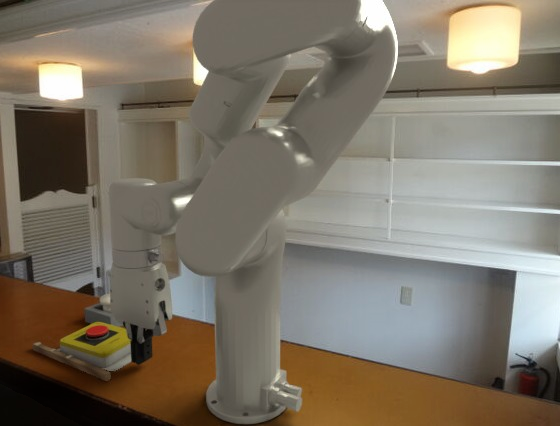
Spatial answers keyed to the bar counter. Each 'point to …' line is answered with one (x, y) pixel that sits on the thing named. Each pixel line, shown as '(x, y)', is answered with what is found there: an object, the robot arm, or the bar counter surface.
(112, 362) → the emergency button
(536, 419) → the bar counter surface
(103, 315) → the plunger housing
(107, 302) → the plunger
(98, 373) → the rail
